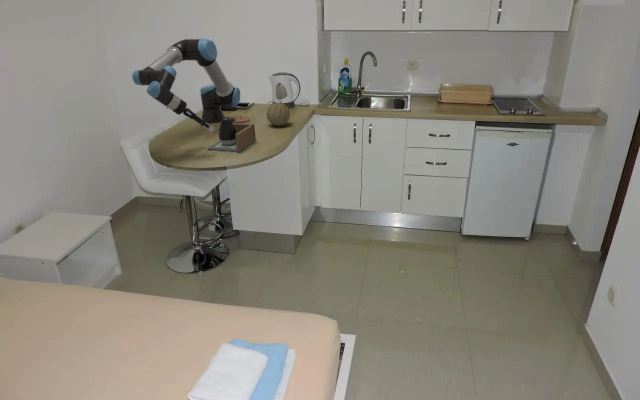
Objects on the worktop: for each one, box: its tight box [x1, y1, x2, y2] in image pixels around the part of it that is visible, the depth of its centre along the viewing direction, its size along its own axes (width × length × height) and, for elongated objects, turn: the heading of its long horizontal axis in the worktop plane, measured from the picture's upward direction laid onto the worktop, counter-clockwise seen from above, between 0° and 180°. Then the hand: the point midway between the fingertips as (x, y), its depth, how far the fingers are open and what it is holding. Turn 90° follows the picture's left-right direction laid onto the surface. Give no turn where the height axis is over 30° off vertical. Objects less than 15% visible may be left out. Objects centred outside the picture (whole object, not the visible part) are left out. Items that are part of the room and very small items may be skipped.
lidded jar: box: [233, 115, 251, 124], centre depth 276 cm, size 11×11×9 cm
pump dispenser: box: [218, 116, 237, 145], centre depth 249 cm, size 10×10×15 cm
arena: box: [206, 123, 257, 153], centre depth 251 cm, size 20×20×10 cm
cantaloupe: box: [266, 101, 291, 127], centre depth 283 cm, size 15×15×15 cm
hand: (208, 127), depth 243 cm, fingers open, 13 cm apart
